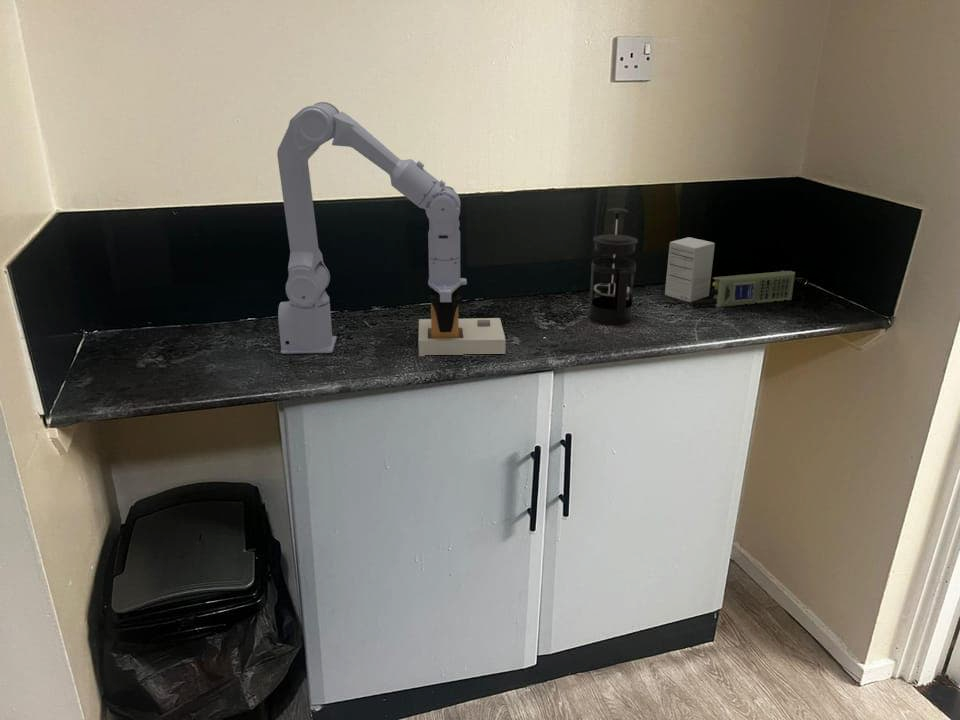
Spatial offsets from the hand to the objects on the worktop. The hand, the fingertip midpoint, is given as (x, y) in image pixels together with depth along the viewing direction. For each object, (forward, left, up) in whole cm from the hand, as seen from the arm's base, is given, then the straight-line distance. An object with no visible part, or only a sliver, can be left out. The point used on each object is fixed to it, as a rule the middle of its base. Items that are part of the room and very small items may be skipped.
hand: (445, 327), depth 145 cm
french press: (+35, +15, -4) cm, 38 cm away
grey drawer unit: (+56, +30, -4) cm, 64 cm away
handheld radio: (+67, +24, -5) cm, 71 cm away
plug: (0, 0, -3) cm, 3 cm away
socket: (+3, +2, -4) cm, 5 cm away
